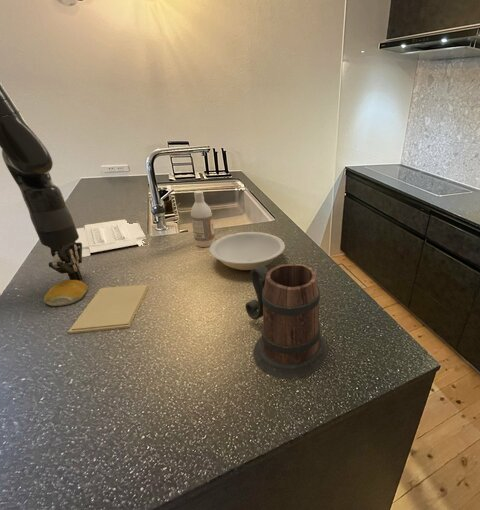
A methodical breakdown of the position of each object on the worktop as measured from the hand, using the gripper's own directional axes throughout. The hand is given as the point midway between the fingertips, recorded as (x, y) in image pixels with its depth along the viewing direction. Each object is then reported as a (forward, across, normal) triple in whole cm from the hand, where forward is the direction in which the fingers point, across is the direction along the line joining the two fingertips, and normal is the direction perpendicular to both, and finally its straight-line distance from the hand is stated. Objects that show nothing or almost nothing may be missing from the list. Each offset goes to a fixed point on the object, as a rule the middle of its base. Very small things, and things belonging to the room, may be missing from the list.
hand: (77, 281), depth 86 cm
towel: (+1, +13, +12) cm, 18 cm away
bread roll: (+1, +6, 0) cm, 6 cm away
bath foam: (+2, -24, +31) cm, 39 cm away
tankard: (+2, +34, +53) cm, 63 cm away
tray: (+2, -34, -3) cm, 34 cm away
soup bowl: (+2, -6, +46) cm, 47 cm away
